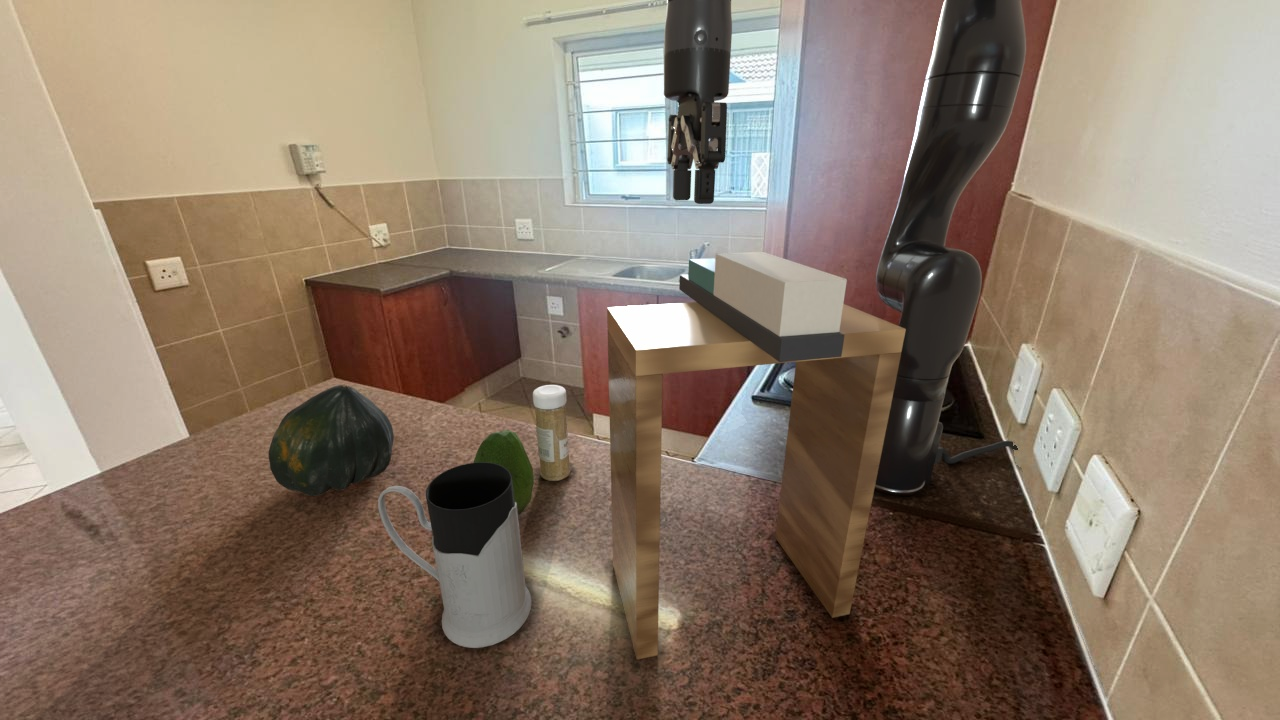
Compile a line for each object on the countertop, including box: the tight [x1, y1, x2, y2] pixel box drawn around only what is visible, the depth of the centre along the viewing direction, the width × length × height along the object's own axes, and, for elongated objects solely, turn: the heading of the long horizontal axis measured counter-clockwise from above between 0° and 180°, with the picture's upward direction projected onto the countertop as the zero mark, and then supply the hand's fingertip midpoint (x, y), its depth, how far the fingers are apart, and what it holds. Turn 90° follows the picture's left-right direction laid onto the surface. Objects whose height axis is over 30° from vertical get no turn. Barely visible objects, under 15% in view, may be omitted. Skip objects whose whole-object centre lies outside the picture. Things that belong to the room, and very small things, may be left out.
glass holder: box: [377, 462, 533, 649], centre depth 49 cm, size 9×14×15 cm, turn 80°
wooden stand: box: [606, 301, 906, 660], centre depth 48 cm, size 22×12×30 cm, turn 103°
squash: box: [268, 384, 395, 497], centre depth 70 cm, size 14×15×15 cm
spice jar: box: [532, 384, 572, 482], centre depth 71 cm, size 5×5×13 cm
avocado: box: [472, 429, 535, 516], centre depth 63 cm, size 8×8×12 cm
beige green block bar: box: [678, 251, 848, 363], centre depth 42 cm, size 5×22×5 cm, turn 13°
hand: (691, 201), depth 62 cm, fingers open, 8 cm apart
